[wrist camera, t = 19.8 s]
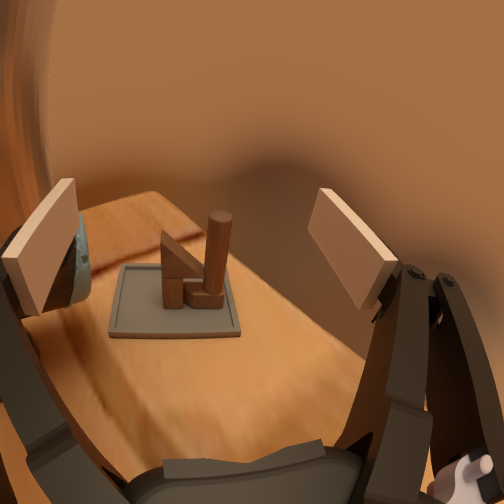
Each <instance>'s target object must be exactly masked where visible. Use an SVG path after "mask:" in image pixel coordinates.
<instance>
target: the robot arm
mask: <svg viewBox="0 0 504 504" xmlns="http://www.w3.org/2000/svg"><path fill="white" fill-rule="evenodd" d="M56 4H57V0H0V402H3V404H4V406H5V408H6V411H7V413H8V415H9V417H10V419H11V421H12V424H13V426H14V428H15V430H16V432H17V434H18V436H19V438H20V439H21V441H22V443H23V445H24V447H25V449H26V451H27V454H28V456H27V457H26V462H27V465H28V467H29V469H30V471H31V473H32V475H33V476H34V478H35V479H36V481H37V482H38V484H39V485H40V487H41V488H42V490H43V491H44V493H45V494H46V496H47V497H48V498H49V500H50V501H51V503H52V504H495V503H497V502H500V501H502V500H504V420H503V415H502V410H501V405H500V401H499V397H498V393H497V389H496V385H495V381H494V378H493V374H492V371H491V368H490V364H489V361H488V358H487V355H486V352H485V349H484V346H483V343H482V340H481V337H480V335H479V332H478V329H477V327H476V324H475V322H474V319H473V317H472V314H471V312H470V309H469V307H468V305H467V302H466V300H465V298H464V295H463V293H462V291H461V289H460V287H459V285H458V283H457V282H456V281H455V279H454V278H453V277H452V276H451V275H449V274H446V273H439V274H438V276H437V277H436V279H435V281H434V280H429V279H427V277H426V275H425V274H424V273H423V272H422V271H421V270H420V269H419V268H417V267H415V266H413V265H409V264H406V265H404V264H403V263H402V262H401V261H400V259H399V258H398V257H397V256H396V255H395V254H394V253H393V251H392V250H390V248H389V247H388V246H387V245H386V244H385V242H383V240H382V239H381V238H380V237H378V236H377V235H376V234H374V233H373V232H372V231H371V230H370V228H369V227H368V226H367V225H366V224H365V223H364V222H363V221H362V220H361V219H360V218H359V217H358V216H357V215H356V214H355V213H354V212H353V211H352V210H351V209H350V208H349V206H348V205H347V204H345V202H344V201H343V200H341V199H340V197H338V196H337V194H335V193H334V192H333V191H332V190H331V189H324V188H320V189H319V192H318V195H317V199H316V202H315V206H314V210H313V213H312V216H311V220H310V223H309V226H308V231H309V233H310V234H311V236H312V237H313V239H314V240H315V242H316V243H317V245H318V246H319V248H320V249H321V251H322V253H323V254H324V256H325V257H326V259H327V260H328V262H329V263H330V265H331V266H332V268H333V270H334V271H335V273H336V274H337V276H338V277H339V279H340V281H341V282H342V284H343V285H344V287H345V289H346V290H347V292H348V293H349V295H350V296H351V298H352V300H353V302H354V303H355V305H356V306H357V308H358V310H368V309H372V308H373V306H374V305H375V303H376V301H377V300H378V299H379V301H380V302H381V304H382V305H381V307H380V308H379V310H378V312H377V314H376V315H375V317H374V319H373V320H372V323H374V321H375V320H376V323H375V327H374V332H373V336H372V340H371V344H370V348H369V352H368V356H367V359H366V363H365V367H364V370H363V374H362V377H361V380H360V384H359V387H358V390H357V393H356V396H355V399H354V402H353V405H352V408H351V411H350V414H349V417H348V420H347V423H346V425H345V428H344V430H343V433H342V434H341V436H340V437H339V439H338V440H337V442H336V443H335V445H334V446H333V447H329V446H323V443H322V440H321V439H318V440H314V441H310V442H306V443H302V444H298V445H293V446H288V447H285V448H283V449H281V450H279V451H276V452H274V453H272V454H270V455H268V456H265V457H263V458H261V459H258V460H256V461H253V462H251V463H237V462H227V461H219V460H212V459H205V458H199V459H169V460H162V462H163V466H162V467H158V468H154V469H151V470H149V471H146V472H144V473H142V474H140V475H138V476H137V477H136V478H134V479H133V480H131V481H130V482H129V483H128V482H127V481H126V480H125V479H124V478H123V476H122V475H121V474H120V473H119V472H118V471H117V470H116V469H115V468H114V467H113V466H112V465H111V464H110V463H109V462H108V461H107V460H106V459H105V458H104V457H103V456H102V454H101V453H100V452H99V451H98V449H97V448H96V447H95V446H94V444H93V443H92V442H91V441H90V439H89V438H88V437H87V435H86V434H85V433H84V431H83V430H82V429H81V427H80V426H79V424H78V423H77V422H76V420H75V419H74V417H73V416H72V414H71V413H70V411H69V410H68V408H67V407H66V405H65V404H64V402H63V401H62V399H61V397H60V396H59V394H58V392H57V391H56V389H55V387H54V386H53V384H52V382H51V381H50V379H49V377H48V375H47V373H46V372H45V370H44V368H43V366H42V364H41V362H40V355H39V349H38V346H37V344H36V342H35V340H34V339H33V337H32V335H31V333H30V332H29V331H28V330H27V329H26V328H25V327H24V326H23V324H22V322H21V319H24V318H27V317H31V316H40V315H41V313H45V312H48V311H52V310H56V309H60V308H68V307H70V306H71V305H72V304H75V303H78V302H81V301H84V300H85V299H87V297H88V296H89V294H90V292H91V267H90V261H89V252H88V242H87V236H86V230H85V225H84V221H83V218H82V215H81V213H80V212H78V207H77V198H76V190H75V180H74V178H69V179H61V180H60V182H59V183H58V184H57V185H56V186H55V187H54V184H53V177H52V169H51V160H50V149H49V136H48V114H47V113H48V112H47V111H48V110H47V91H48V90H47V89H48V66H49V53H50V43H51V35H52V27H53V21H54V15H55V9H56ZM442 314H443V318H442V321H441V322H440V324H439V322H438V319H439V318H440V317H441V315H442ZM425 392H426V401H427V410H428V411H425V410H424V400H425ZM429 446H430V455H431V464H432V470H433V475H434V479H435V481H433V482H431V483H430V484H429V485H428V487H427V494H426V493H424V492H422V491H420V488H421V484H422V480H423V476H424V471H425V467H426V462H427V457H428V451H429ZM0 504H18V503H17V500H16V497H15V495H14V492H13V489H12V487H11V484H10V482H9V479H8V476H7V473H6V470H5V467H4V464H3V461H2V457H1V454H0Z"/></svg>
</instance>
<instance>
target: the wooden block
mask: <svg viewBox="0 0 504 504" xmlns="http://www.w3.org/2000/svg"><path fill="white" fill-rule="evenodd" d="M232 221H233V216H232V215H231V214H230V213H229V212H226V211H222V210H216V211H212V212H211V213H210V214H209V218H208V229H207V239H206V251H205V262H204V268H203V264H201V263H200V262H199V261H198V260H197V259H196V258H194V257H193V256H192V255H191V254H190V253H189V252H188V251H186V250H185V249H184V248H183V247H182V246H181V245H180V244H178V243H177V242H176V241H175V240H174V239H173V238H172V237H170V236H169V235H168V234H167V233H166V232H165V231H164V230H162V233H161V276H162V279H161V280H162V298H163V307H164V309H182V308H183V302H185V303H186V304H188V305H189V306H190V307H192V308H194V309H211V308H223V304H224V297H225V293H224V288H223V285H224V278H225V270H226V263H227V256H228V249H229V242H230V235H231V228H232ZM183 279H203V282H188V281H184V282H183Z"/></svg>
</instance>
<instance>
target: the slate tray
mask: <svg viewBox="0 0 504 504" xmlns="http://www.w3.org/2000/svg"><path fill="white" fill-rule="evenodd" d="M203 268H204V264H203ZM161 279H162V276H161V264H154V263H121V267H120V271H119V276H118V281H117V285H116V290H115V295H114V301H113V306H112V312H111V318H110V324H109V330H108V333H109V336H110V338H133V339H197V338H225V337H240V335H241V328H240V324H239V320H238V315H237V311H236V307H235V303H234V298H233V294H232V289H231V285H230V281H229V276H228V272H227V267H226V270H225V278H224V285H223V288H224V293H225V297H224V304H223V308H211V309H194V308H192V307H190V306H189V305H188V304H186V303H185V302H183V308H182V309H164V307H163V298H162V280H161ZM184 281H188V282H203V279H183V282H184Z"/></svg>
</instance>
